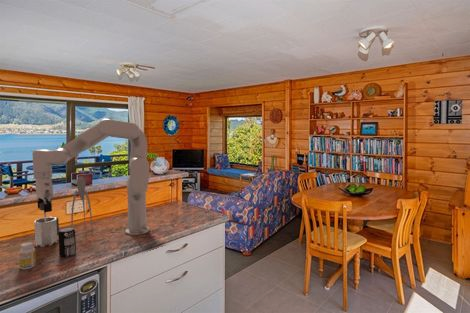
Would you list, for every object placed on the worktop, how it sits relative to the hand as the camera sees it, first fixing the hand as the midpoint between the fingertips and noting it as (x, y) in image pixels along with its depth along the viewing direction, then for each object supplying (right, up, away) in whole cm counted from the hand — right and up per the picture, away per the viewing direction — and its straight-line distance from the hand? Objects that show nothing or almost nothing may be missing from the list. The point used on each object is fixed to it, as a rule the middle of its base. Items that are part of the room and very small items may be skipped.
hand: (44, 209), depth 142 cm
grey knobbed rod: (0, -14, +1) cm, 14 cm away
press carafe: (0, -17, +3) cm, 17 cm away
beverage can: (+18, -19, -11) cm, 28 cm away
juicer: (+7, -15, +24) cm, 29 cm away
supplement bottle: (+8, -19, -23) cm, 31 cm away
